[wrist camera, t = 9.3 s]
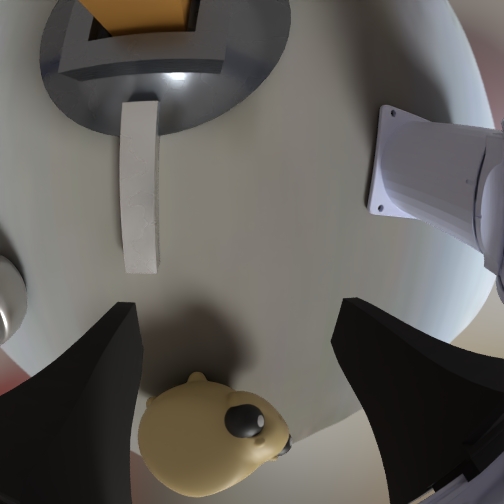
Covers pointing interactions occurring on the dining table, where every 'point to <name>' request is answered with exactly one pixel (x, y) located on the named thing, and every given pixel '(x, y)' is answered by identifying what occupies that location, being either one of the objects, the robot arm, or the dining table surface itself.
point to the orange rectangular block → (140, 15)
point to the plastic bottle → (11, 299)
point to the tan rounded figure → (209, 436)
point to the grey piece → (157, 89)
